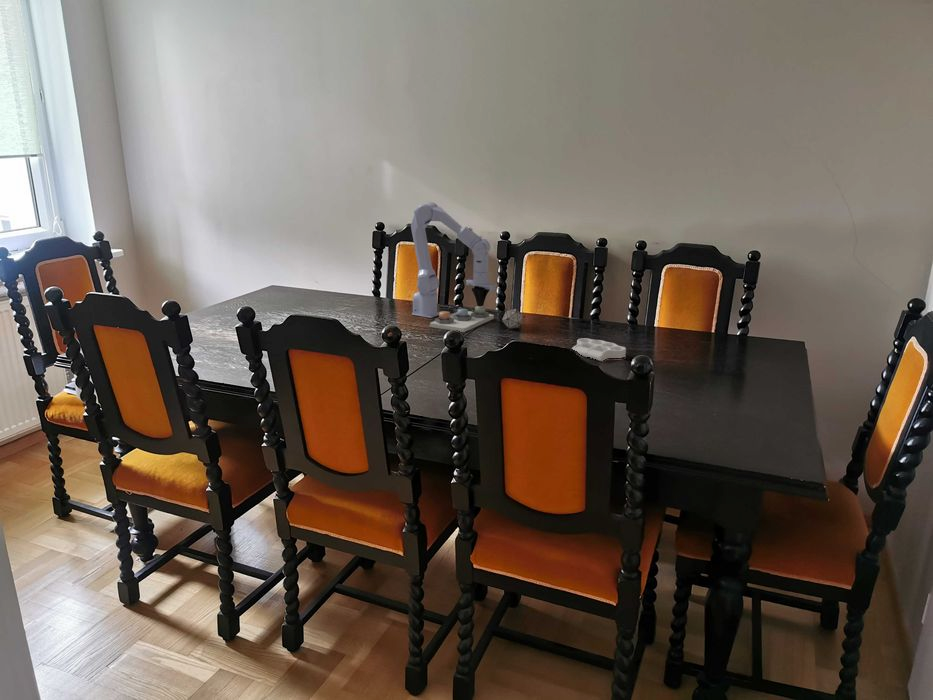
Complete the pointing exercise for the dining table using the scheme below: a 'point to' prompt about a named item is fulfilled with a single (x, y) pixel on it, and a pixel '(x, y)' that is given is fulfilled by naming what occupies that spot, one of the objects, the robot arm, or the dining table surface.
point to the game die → (512, 318)
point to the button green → (480, 309)
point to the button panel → (462, 321)
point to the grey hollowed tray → (599, 349)
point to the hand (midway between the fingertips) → (480, 305)
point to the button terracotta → (444, 315)
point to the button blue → (462, 312)
